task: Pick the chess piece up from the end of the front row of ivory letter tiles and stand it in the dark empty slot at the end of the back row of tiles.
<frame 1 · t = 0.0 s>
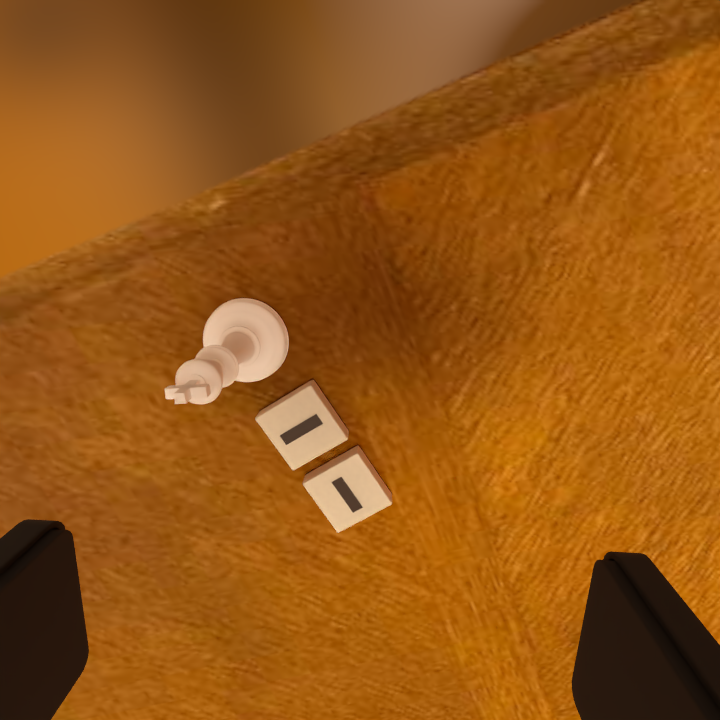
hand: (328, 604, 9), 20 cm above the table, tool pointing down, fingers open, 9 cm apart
chess piece: (248, 339, 29), on the table
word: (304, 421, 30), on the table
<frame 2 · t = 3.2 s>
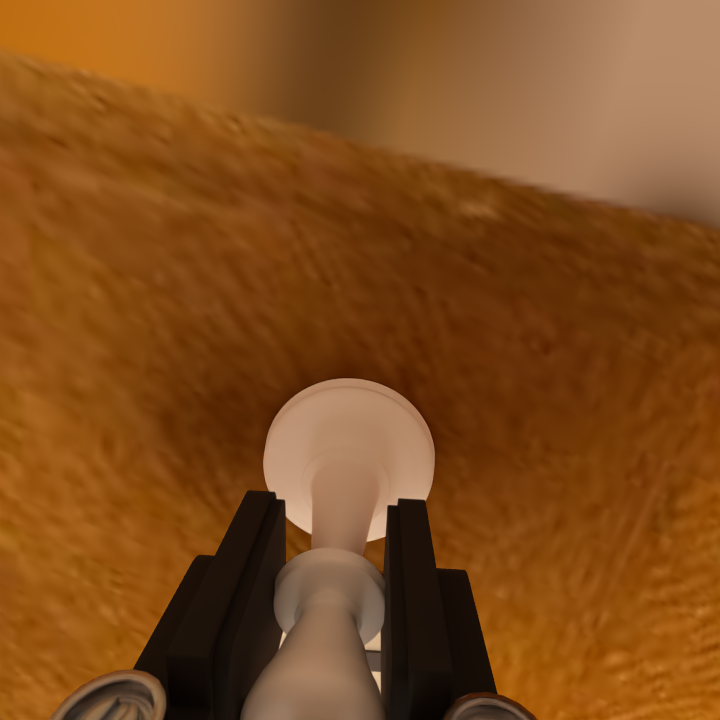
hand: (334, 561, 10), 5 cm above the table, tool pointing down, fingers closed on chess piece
chess piece: (349, 455, 14), on the table, touching gripper
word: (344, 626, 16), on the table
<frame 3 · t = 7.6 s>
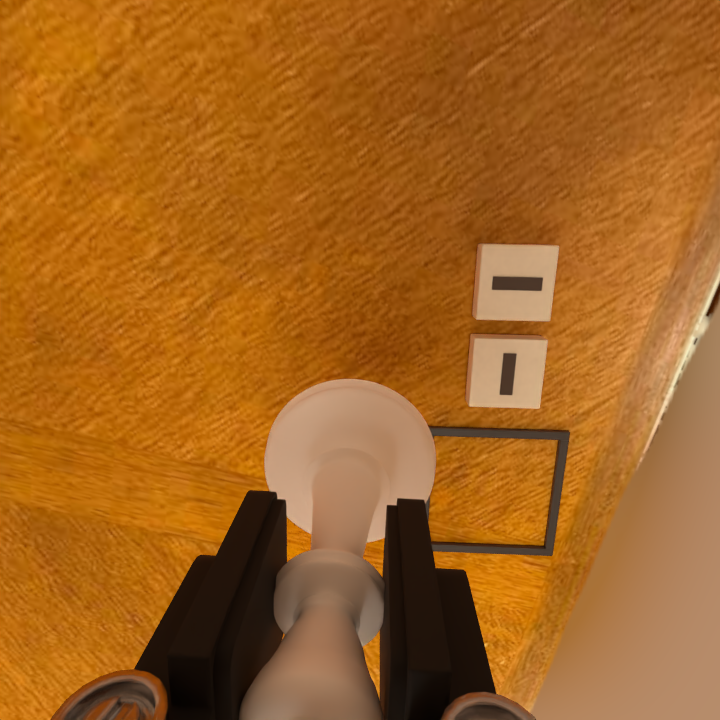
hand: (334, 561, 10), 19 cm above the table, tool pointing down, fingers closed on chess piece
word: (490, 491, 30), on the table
chess piece: (351, 455, 14), point 14 cm above the table, touching gripper
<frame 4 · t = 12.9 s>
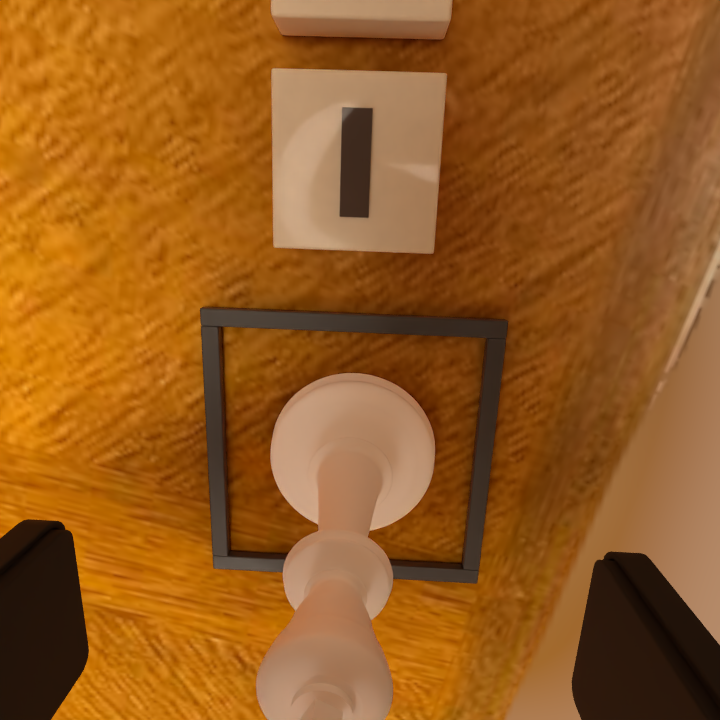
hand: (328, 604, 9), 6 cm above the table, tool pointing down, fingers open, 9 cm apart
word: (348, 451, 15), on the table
chess piece: (353, 447, 15), on the table
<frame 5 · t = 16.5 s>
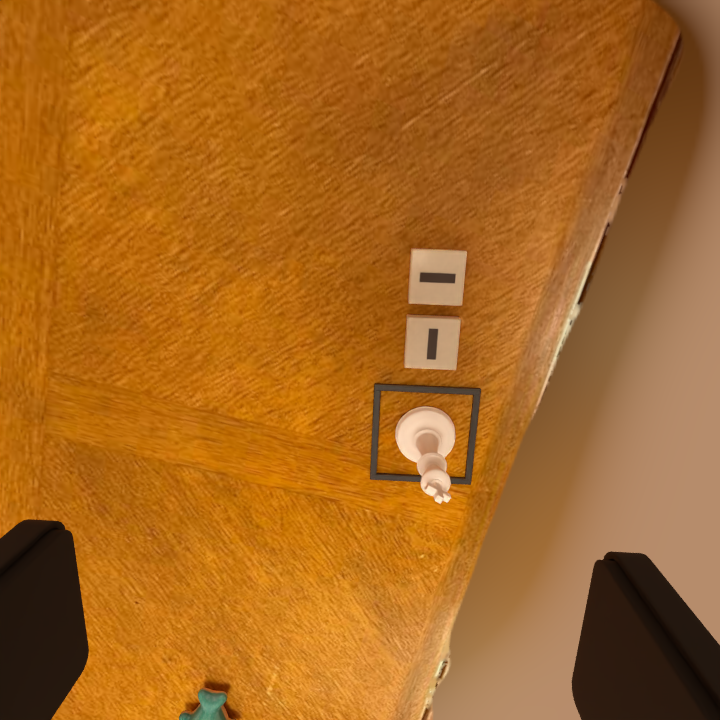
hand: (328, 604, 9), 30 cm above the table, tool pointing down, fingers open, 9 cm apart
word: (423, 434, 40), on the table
chess piece: (424, 433, 41), on the table
whale figurine: (214, 706, 49), on the table
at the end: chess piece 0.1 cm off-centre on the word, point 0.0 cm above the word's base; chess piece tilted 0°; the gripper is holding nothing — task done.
